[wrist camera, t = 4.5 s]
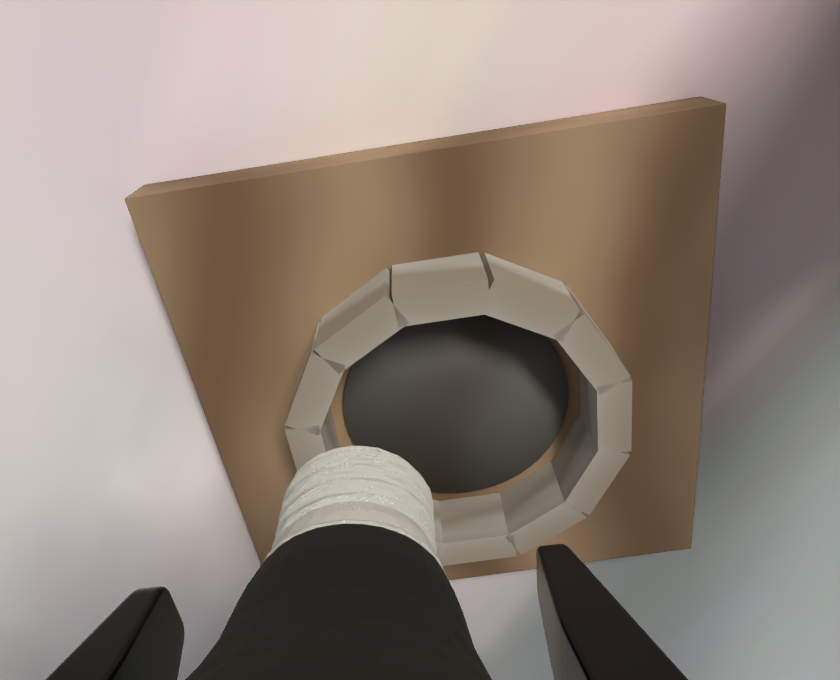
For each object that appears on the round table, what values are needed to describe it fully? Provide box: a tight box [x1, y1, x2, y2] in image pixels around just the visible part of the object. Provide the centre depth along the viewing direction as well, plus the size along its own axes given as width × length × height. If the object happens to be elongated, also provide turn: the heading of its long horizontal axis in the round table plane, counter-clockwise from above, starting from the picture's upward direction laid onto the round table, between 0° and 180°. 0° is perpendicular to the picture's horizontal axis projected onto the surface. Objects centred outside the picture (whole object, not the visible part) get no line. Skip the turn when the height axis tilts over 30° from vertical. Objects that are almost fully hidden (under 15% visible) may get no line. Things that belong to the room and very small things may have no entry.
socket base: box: [125, 97, 726, 580], centre depth 20 cm, size 16×16×4 cm
